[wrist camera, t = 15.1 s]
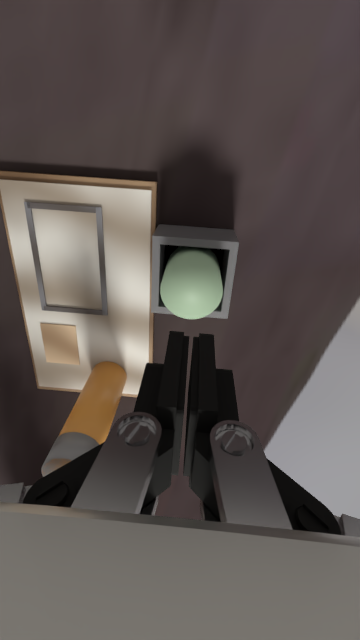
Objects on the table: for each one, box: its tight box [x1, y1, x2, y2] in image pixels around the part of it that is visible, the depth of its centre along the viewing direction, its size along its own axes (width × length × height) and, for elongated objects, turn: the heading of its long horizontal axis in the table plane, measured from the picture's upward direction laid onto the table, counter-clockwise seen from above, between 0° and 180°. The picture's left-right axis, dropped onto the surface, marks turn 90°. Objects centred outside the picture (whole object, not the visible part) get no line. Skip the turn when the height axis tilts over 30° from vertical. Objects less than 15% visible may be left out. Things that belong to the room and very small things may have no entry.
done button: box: [160, 246, 223, 319], centre depth 21 cm, size 4×4×4 cm
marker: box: [41, 361, 127, 477], centre depth 24 cm, size 3×3×10 cm
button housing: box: [151, 224, 239, 319], centre depth 22 cm, size 5×5×4 cm
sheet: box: [0, 170, 157, 397], centre depth 26 cm, size 19×11×1 cm, turn 177°
